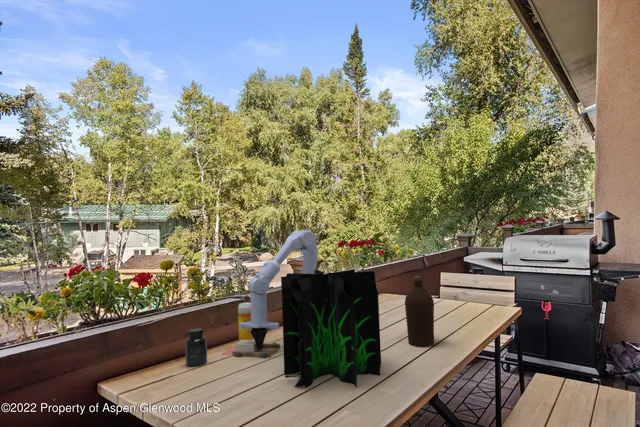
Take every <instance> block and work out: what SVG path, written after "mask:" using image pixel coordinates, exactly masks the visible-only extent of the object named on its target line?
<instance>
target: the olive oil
mask: <svg viewBox="0 0 640 427" xmlns="http://www.w3.org/2000/svg"><path fill="white" fill-rule="evenodd" d="M423 281H424V280H423V276H421V275H415V276H413V280H412V282H413V286H412V288H411V289H410V291H408V292H407V294H406V296H405V299H404V307H405V308H404V310H405V319H406V328H407V329H406V330H407V343H408V344H409V345H410V346H413V347H418V348H419V347H420V348H425V347H426V348H428V347H431V346H433V345H434V344H435V328H434V327H435V323H434V322H435V302H434V301H435V300H434V298H433V296H432V294H430V292H429V291H428V290H427V289H426V288H425V287H424V285H423V284H424V282H423Z"/></svg>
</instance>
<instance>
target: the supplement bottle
mask: <svg viewBox="0 0 640 427" xmlns="http://www.w3.org/2000/svg"><path fill="white" fill-rule="evenodd" d="M187 332H188V333H187V337H188V338H187V339H186V340H185V345H184V346H185V366H186V367H187V368H197V367H202V366H205V365H207V363H208V347H207V346H208V345H207V340H208V339H207V338H206V337H205V336H204V329H203V328H201V327H199V328H192V329H189V330H188V331H187Z"/></svg>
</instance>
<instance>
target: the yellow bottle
mask: <svg viewBox="0 0 640 427" xmlns="http://www.w3.org/2000/svg"><path fill="white" fill-rule="evenodd" d="M237 312H238V313H237V318H238V319H237V320H238V321H237V322H238V340H239V341H241V340H254V338H253V336H252V334H251V332H250V331H251V330H252V329H251V328H243V329H240V323H241V322H251V302H242V303H239V304H238V307H237Z"/></svg>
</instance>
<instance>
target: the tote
mask: <svg viewBox="0 0 640 427" xmlns="http://www.w3.org/2000/svg"><path fill="white" fill-rule="evenodd" d="M234 345H235V346H234V347H236V351H241V352H257V351H258V350H257V346H256V343H255V340H254V339H252V340H239V341H238V342H236V343H235V344H234Z"/></svg>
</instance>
